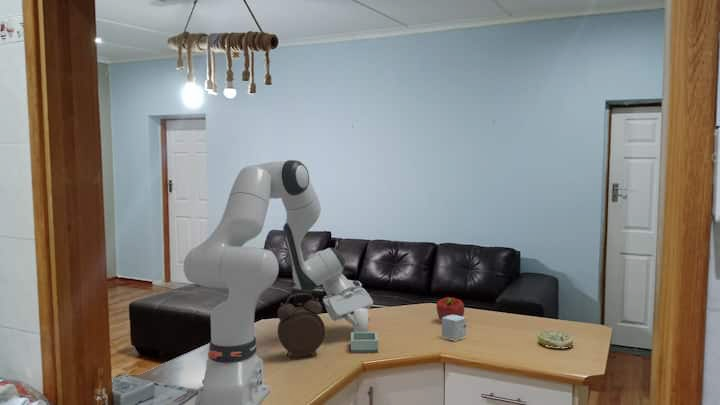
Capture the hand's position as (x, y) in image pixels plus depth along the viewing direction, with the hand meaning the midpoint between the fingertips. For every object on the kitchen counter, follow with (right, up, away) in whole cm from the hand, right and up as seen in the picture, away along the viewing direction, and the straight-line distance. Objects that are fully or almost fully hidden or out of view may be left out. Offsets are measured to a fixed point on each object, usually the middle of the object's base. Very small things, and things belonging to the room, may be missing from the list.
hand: (362, 323), depth 181 cm
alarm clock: (-19, -7, -15) cm, 26 cm away
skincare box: (+31, -5, 0) cm, 32 cm away
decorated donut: (+64, -6, -8) cm, 64 cm away
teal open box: (+1, -6, -9) cm, 11 cm away
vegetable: (+33, -4, +18) cm, 38 cm away
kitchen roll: (0, -5, +1) cm, 5 cm away
